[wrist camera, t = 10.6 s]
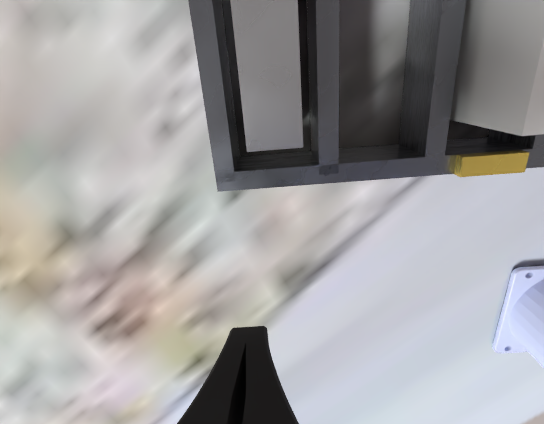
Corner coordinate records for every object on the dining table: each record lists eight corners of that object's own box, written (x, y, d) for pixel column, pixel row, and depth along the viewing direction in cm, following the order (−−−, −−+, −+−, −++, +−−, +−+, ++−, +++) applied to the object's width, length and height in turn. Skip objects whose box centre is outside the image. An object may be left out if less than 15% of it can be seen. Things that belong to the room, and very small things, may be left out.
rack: (573, -191, 14) (781, -377, 8) (501, 152, 19) (593, 181, 14) (181, -150, 14) (123, -300, 8) (226, 173, 20) (209, 209, 14)
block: (511, -109, 15) (701, -255, 8) (475, 112, 19) (584, 130, 12) (460, -103, 15) (607, -244, 8) (434, 116, 19) (521, 136, 12)
